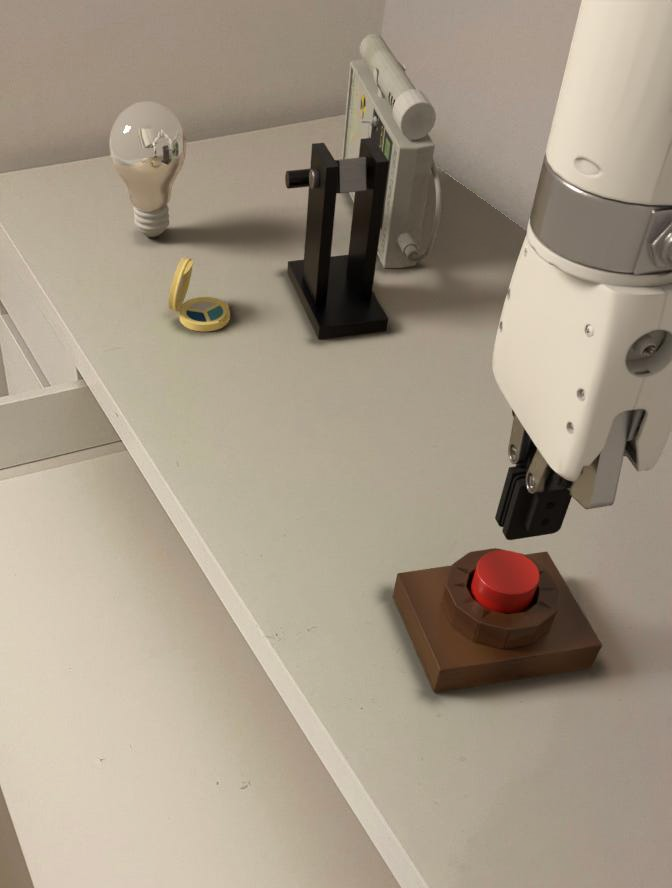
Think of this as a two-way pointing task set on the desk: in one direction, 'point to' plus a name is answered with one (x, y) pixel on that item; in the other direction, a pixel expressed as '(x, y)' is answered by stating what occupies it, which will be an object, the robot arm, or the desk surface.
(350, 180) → the lever
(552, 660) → the button block
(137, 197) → the light bulb
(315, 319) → the bracket
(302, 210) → the desk surface
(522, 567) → the button
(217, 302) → the eyeshadow
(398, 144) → the geiger counter
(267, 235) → the desk surface
